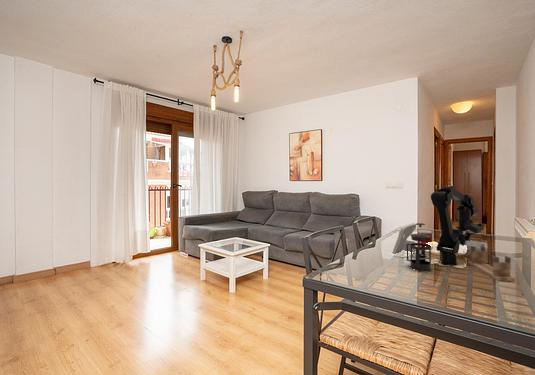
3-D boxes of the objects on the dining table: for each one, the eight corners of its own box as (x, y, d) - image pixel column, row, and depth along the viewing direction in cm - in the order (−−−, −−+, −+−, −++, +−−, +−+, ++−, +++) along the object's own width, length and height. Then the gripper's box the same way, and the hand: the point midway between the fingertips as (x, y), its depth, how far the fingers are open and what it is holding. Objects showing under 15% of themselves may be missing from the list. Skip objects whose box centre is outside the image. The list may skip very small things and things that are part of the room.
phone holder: (400, 249, 176) (400, 221, 175) (417, 252, 168) (417, 222, 168) (387, 254, 165) (386, 224, 164) (404, 258, 157) (403, 227, 157)
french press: (435, 268, 140) (435, 223, 138) (429, 273, 133) (429, 226, 132) (410, 263, 148) (410, 220, 147) (403, 268, 141) (403, 223, 140)
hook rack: (498, 281, 121) (498, 258, 121) (467, 263, 145) (467, 244, 144) (514, 281, 120) (514, 259, 120) (481, 264, 144) (481, 245, 143)
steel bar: (484, 249, 145) (484, 244, 145) (444, 240, 165) (444, 235, 165) (487, 248, 146) (487, 243, 146) (447, 240, 166) (447, 235, 166)
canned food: (434, 249, 172) (434, 232, 172) (421, 250, 172) (421, 232, 172) (427, 246, 180) (427, 229, 179) (415, 247, 180) (415, 230, 180)
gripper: (467, 221, 144) (467, 250, 145) (491, 218, 151) (490, 246, 151) (447, 218, 155) (447, 246, 155) (469, 215, 161) (469, 242, 162)
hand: (464, 245), depth 156 cm, fingers closed on steel bar, 2 cm apart
